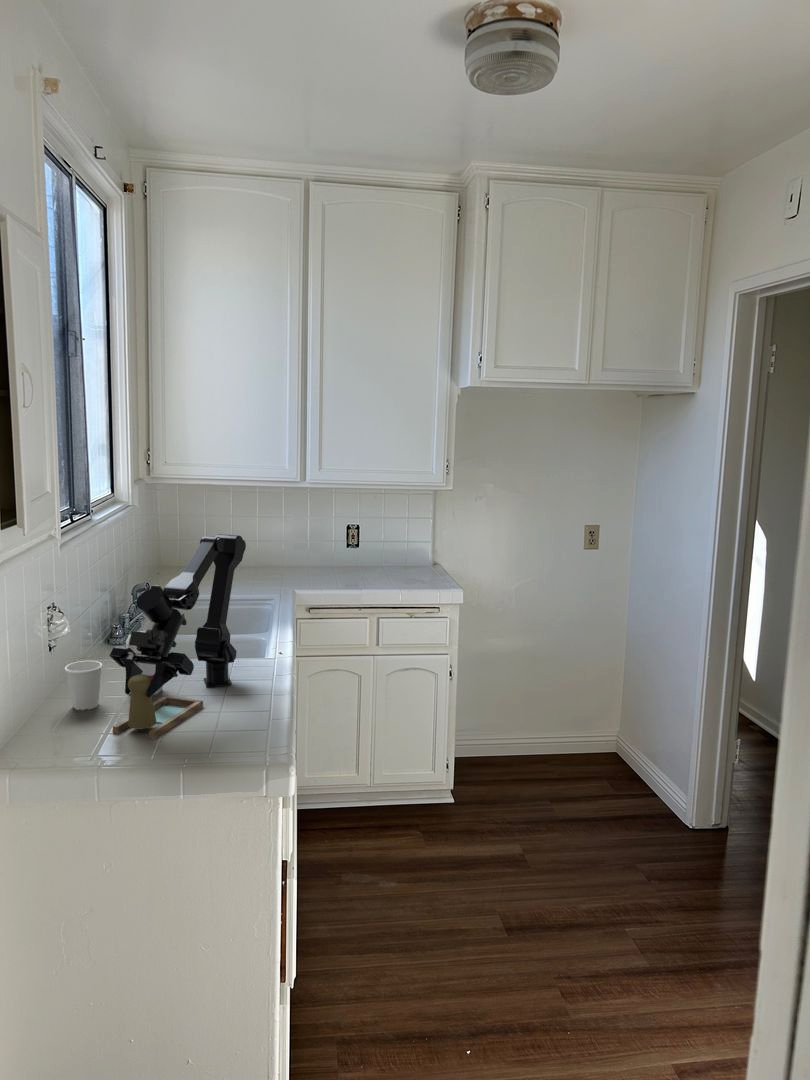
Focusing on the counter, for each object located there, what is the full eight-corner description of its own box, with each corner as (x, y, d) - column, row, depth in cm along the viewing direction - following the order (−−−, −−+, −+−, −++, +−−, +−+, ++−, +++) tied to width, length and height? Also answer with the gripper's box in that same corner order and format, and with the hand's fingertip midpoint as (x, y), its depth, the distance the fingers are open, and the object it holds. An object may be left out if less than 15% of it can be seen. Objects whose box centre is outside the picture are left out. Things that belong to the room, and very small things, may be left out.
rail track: (165, 701, 196) (165, 695, 196) (203, 706, 193) (202, 700, 193) (113, 732, 177) (112, 726, 177) (153, 738, 174) (153, 732, 174)
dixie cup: (90, 697, 198) (88, 658, 196) (111, 704, 194) (109, 664, 192) (59, 707, 191) (57, 667, 190) (81, 714, 187) (78, 673, 185)
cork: (146, 715, 182) (144, 669, 181) (162, 722, 179) (159, 675, 177) (122, 723, 178) (120, 676, 176) (138, 731, 174) (135, 682, 172)
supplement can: (168, 688, 205) (166, 631, 202) (150, 699, 197) (148, 640, 194) (141, 685, 207) (138, 628, 204) (121, 695, 199) (118, 637, 197)
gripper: (112, 611, 180) (82, 674, 172) (184, 618, 175) (157, 684, 167) (135, 635, 189) (107, 696, 181) (205, 643, 184) (180, 706, 175)
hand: (137, 695), depth 176 cm, fingers closed on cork, 5 cm apart
